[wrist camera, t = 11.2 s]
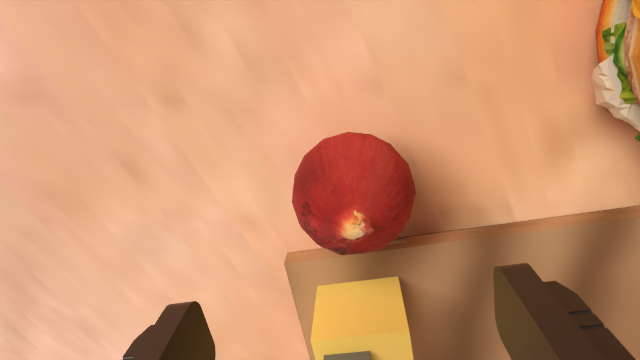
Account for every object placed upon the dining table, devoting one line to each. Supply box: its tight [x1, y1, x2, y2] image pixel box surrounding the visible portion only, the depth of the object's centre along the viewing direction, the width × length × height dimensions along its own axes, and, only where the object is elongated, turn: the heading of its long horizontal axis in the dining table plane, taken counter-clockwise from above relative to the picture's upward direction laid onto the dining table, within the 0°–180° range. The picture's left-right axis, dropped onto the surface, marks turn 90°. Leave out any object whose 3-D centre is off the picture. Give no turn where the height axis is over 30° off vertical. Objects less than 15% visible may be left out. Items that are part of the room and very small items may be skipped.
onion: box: [292, 132, 415, 255], centre depth 18 cm, size 6×6×8 cm
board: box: [284, 206, 640, 360], centre depth 25 cm, size 22×18×1 cm
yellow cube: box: [311, 276, 413, 360], centre depth 22 cm, size 5×5×5 cm
